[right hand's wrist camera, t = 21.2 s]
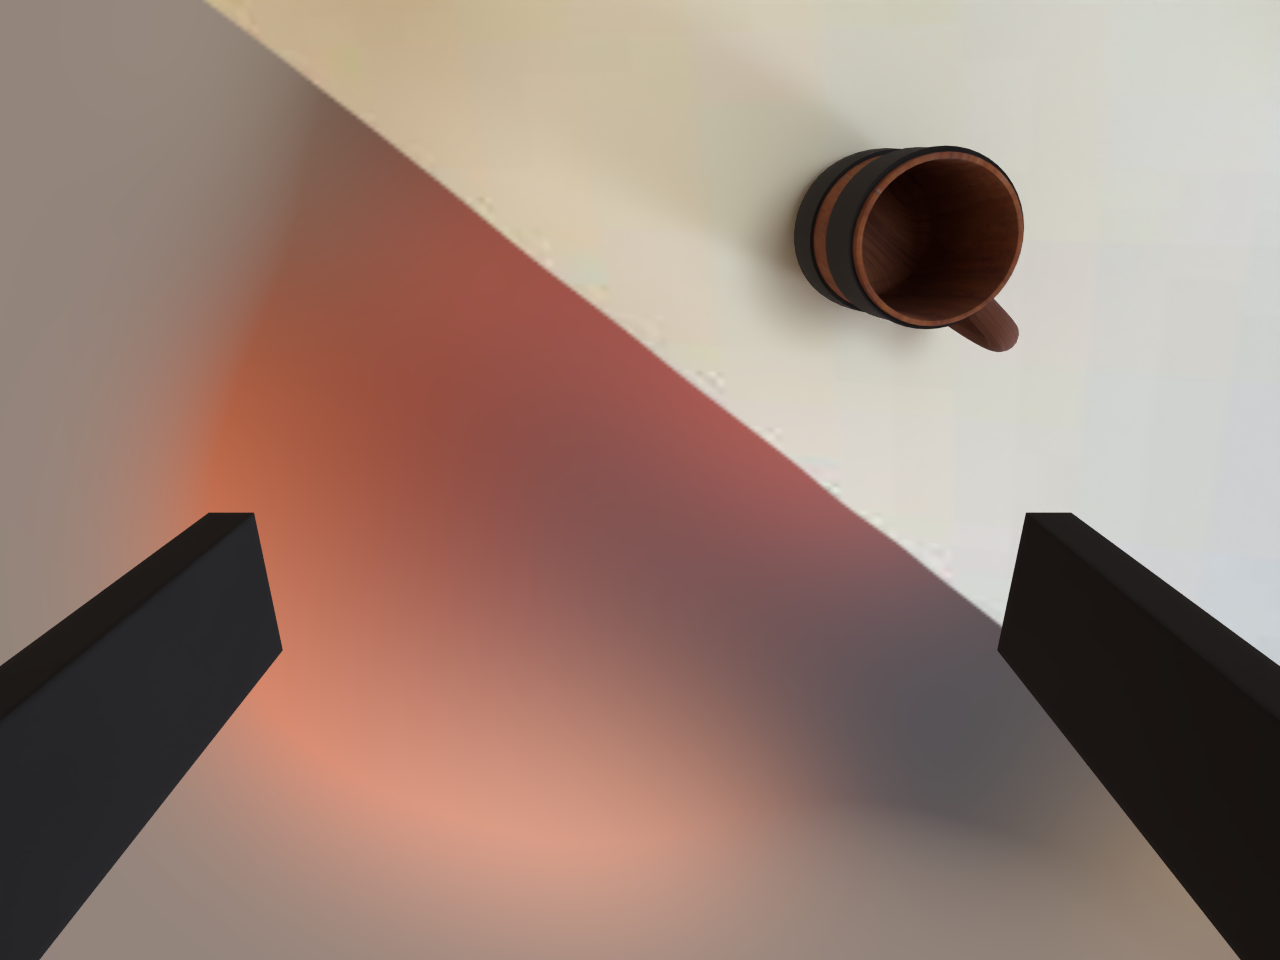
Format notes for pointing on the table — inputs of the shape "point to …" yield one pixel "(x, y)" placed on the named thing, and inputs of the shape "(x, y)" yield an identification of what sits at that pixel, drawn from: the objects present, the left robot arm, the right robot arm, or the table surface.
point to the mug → (915, 239)
